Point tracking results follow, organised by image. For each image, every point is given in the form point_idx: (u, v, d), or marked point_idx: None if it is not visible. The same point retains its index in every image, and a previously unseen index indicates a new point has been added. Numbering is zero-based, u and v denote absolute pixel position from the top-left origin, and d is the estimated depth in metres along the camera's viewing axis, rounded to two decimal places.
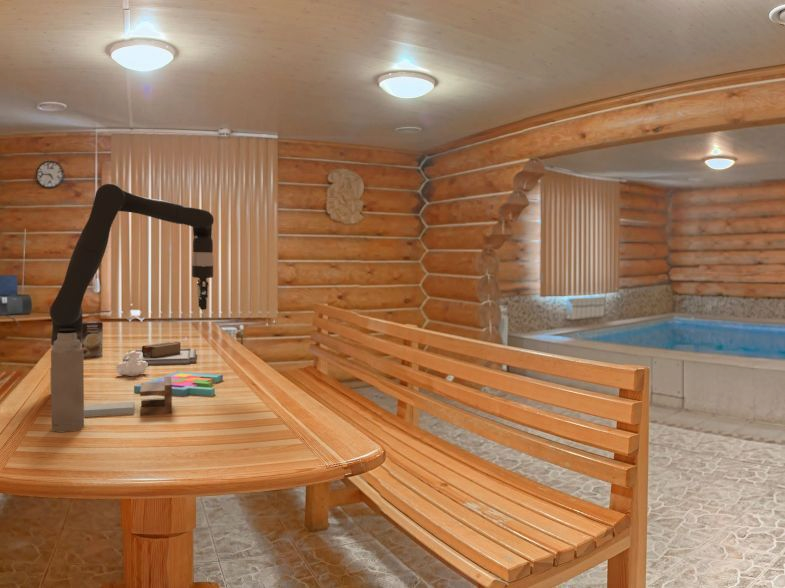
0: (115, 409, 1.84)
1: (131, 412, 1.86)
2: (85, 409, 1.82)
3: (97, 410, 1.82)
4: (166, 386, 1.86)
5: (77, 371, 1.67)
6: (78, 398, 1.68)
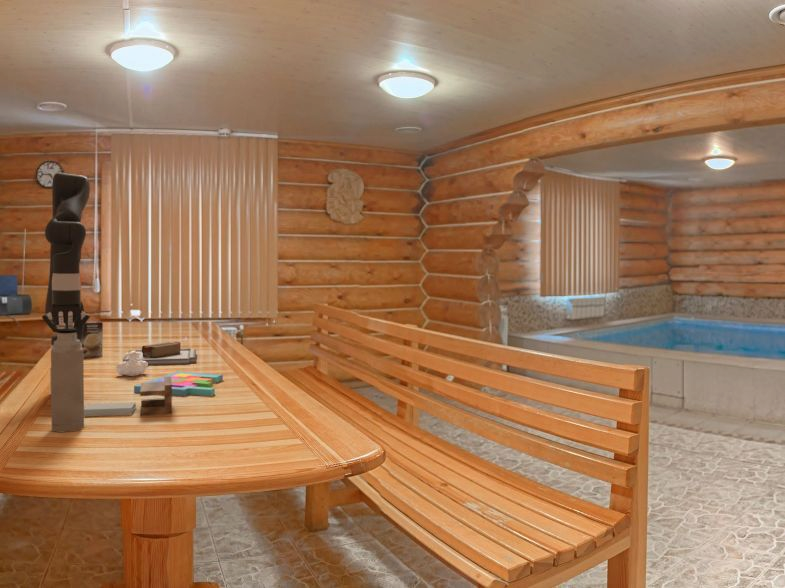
0: (113, 409, 1.84)
1: (129, 413, 1.85)
2: (84, 408, 1.83)
3: (96, 410, 1.83)
4: (166, 386, 1.86)
5: (77, 371, 1.67)
6: (78, 398, 1.68)
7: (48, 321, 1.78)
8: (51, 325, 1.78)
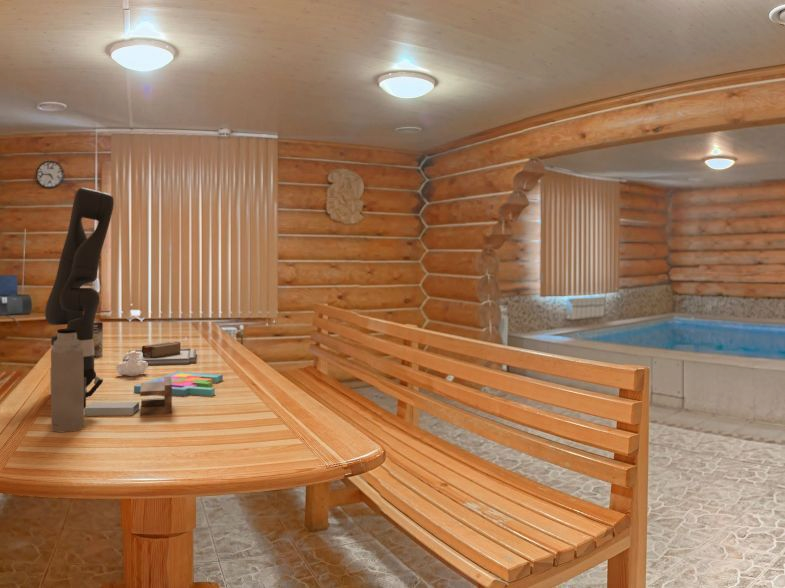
0: (115, 408, 1.84)
1: (131, 412, 1.85)
2: (87, 407, 1.84)
3: (98, 408, 1.83)
4: (166, 386, 1.86)
5: (77, 371, 1.67)
6: (78, 398, 1.68)
7: None
8: None
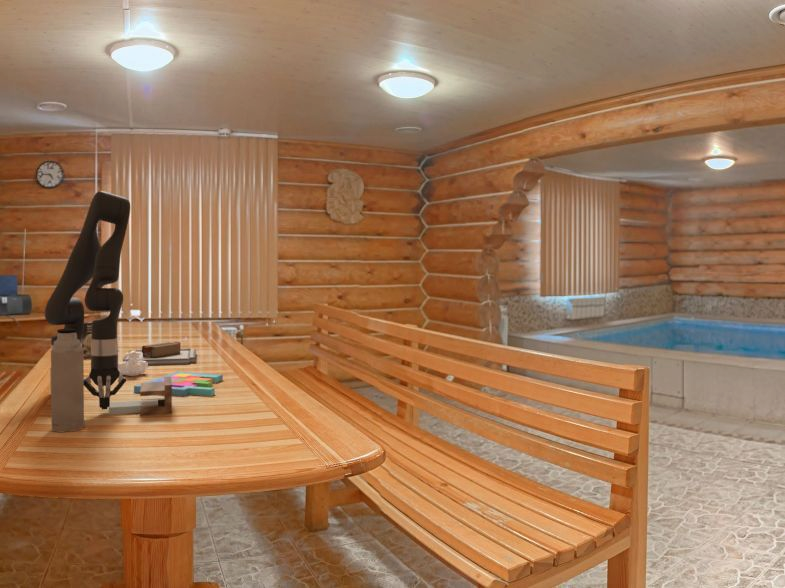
0: (140, 406, 1.87)
1: None
2: (111, 406, 1.85)
3: (123, 407, 1.86)
4: (166, 386, 1.86)
5: (77, 371, 1.67)
6: (78, 398, 1.68)
7: (88, 386, 1.83)
8: (91, 389, 1.83)
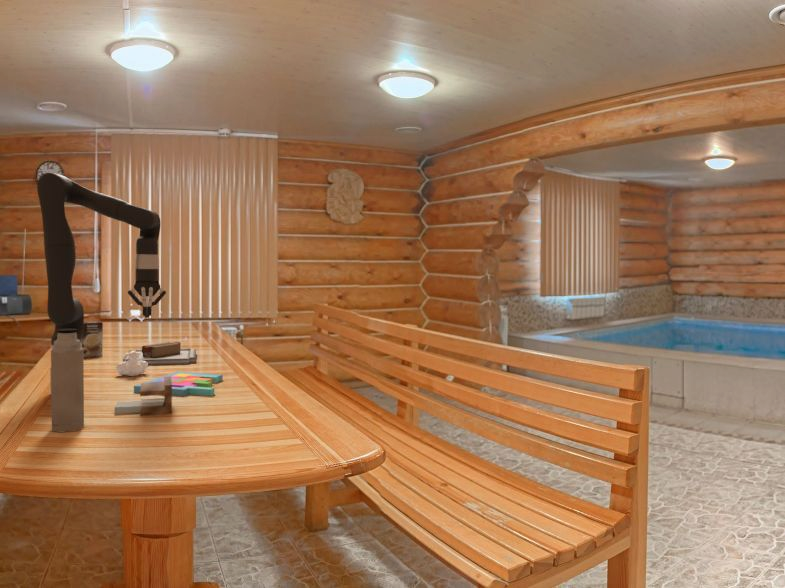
0: (146, 406, 1.88)
1: None
2: (117, 406, 1.86)
3: (128, 407, 1.86)
4: (166, 386, 1.86)
5: (77, 371, 1.67)
6: (78, 398, 1.68)
7: (133, 295, 2.07)
8: (135, 299, 2.07)
